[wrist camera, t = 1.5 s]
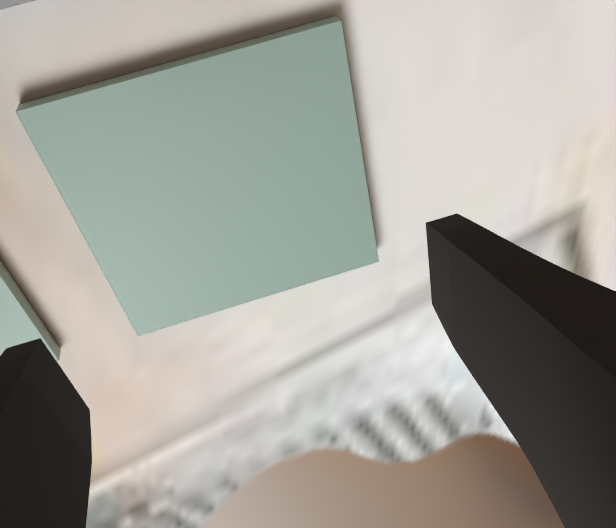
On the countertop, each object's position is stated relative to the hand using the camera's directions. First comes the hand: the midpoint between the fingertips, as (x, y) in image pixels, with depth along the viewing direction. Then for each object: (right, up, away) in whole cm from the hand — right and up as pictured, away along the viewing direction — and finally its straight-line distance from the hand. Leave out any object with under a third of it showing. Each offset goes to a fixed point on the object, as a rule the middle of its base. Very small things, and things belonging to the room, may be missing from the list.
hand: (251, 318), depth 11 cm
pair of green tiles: (-8, +2, +8) cm, 12 cm away
